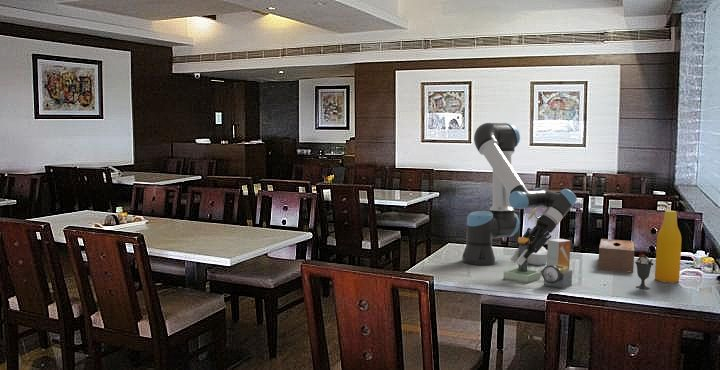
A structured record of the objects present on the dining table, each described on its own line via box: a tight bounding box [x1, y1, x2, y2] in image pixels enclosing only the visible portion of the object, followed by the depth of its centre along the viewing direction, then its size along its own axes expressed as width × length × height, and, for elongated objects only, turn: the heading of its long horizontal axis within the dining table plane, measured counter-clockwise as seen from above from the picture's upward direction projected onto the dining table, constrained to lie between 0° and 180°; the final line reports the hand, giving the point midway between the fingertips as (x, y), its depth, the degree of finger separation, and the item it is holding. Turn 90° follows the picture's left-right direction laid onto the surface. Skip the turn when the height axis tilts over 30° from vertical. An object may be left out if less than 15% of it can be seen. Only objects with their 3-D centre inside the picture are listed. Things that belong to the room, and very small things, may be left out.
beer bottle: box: [654, 210, 683, 283], centre depth 258 cm, size 9×9×29 cm
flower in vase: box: [527, 208, 548, 251], centre depth 305 cm, size 13×11×25 cm
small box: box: [546, 238, 572, 268], centre depth 278 cm, size 8×6×13 cm
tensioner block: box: [541, 265, 573, 290], centre depth 247 cm, size 8×11×9 cm
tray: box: [503, 267, 542, 284], centre depth 259 cm, size 11×11×3 cm
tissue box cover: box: [597, 238, 635, 273], centre depth 288 cm, size 26×14×10 cm, turn 157°
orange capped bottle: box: [517, 236, 530, 272], centre depth 258 cm, size 5×5×14 cm
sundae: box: [634, 249, 655, 291], centre depth 245 cm, size 7×7×15 cm
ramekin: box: [528, 250, 548, 266], centre depth 291 cm, size 11×11×5 cm
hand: (515, 262), depth 256 cm, fingers closed on orange capped bottle, 3 cm apart
